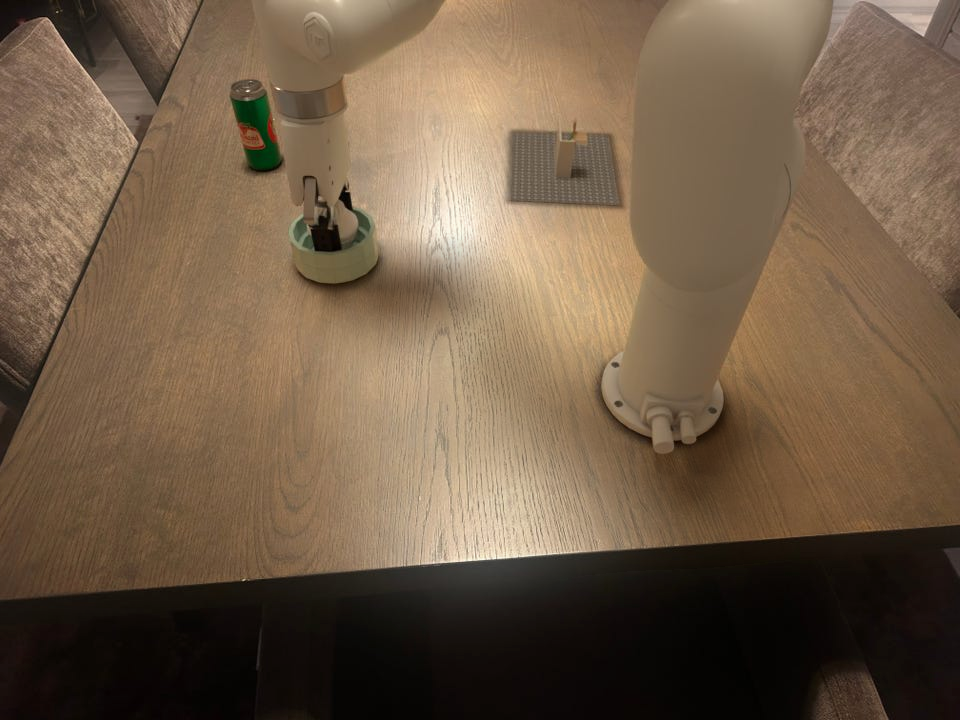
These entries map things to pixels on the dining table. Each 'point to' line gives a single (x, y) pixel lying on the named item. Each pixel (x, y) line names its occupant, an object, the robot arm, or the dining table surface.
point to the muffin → (342, 223)
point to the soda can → (255, 124)
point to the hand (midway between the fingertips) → (335, 234)
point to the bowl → (336, 263)
